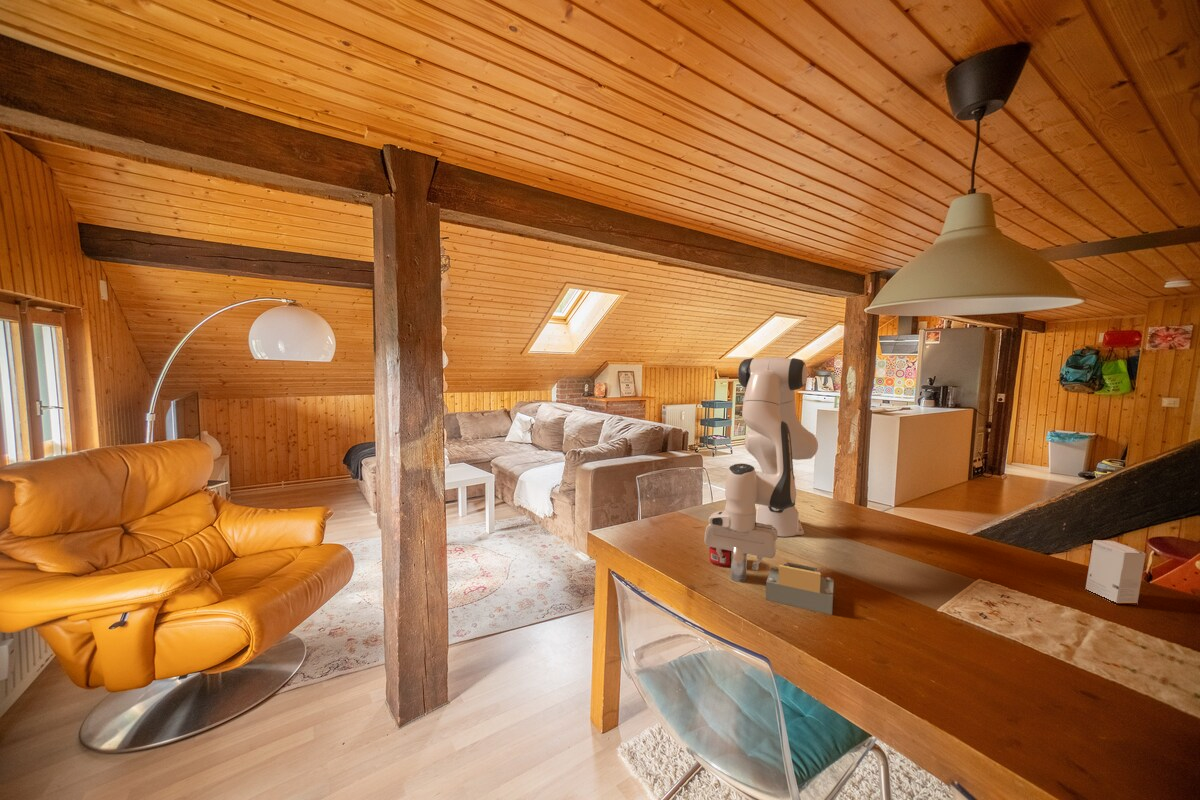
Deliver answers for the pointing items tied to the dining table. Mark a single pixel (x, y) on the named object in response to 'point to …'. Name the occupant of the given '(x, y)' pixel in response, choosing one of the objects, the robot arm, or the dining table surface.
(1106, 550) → the skincare box
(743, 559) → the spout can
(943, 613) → the dining table surface
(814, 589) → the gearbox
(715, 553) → the canned food
